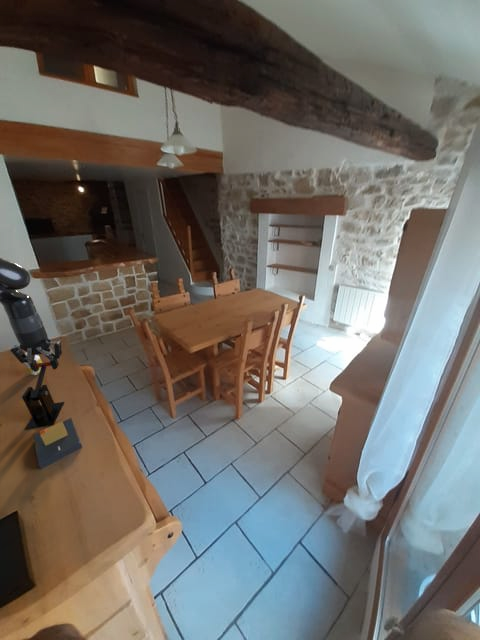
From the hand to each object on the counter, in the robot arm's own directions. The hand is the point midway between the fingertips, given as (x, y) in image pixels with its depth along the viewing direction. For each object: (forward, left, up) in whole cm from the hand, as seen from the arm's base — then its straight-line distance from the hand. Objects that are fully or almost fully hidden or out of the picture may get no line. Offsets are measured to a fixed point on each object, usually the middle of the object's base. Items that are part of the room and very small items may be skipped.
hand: (46, 369), depth 88 cm
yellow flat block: (+8, -23, -10) cm, 26 cm away
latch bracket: (0, -10, -13) cm, 16 cm away
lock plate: (+8, -23, -13) cm, 27 cm away
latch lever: (0, -5, -2) cm, 5 cm away
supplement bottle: (-13, +17, -13) cm, 25 cm away
